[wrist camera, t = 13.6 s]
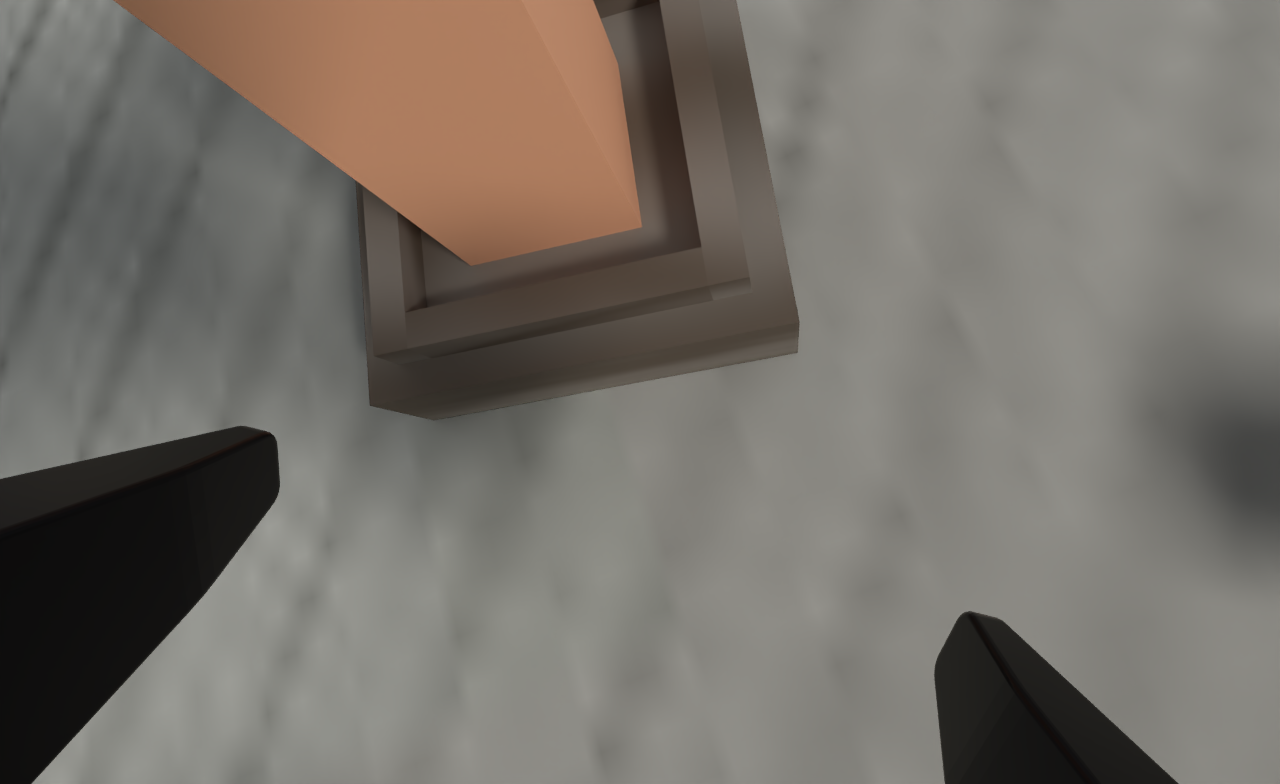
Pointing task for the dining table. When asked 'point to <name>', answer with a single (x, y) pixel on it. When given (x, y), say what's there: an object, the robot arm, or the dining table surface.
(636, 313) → the base block
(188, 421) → the dining table surface
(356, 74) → the terracotta column
